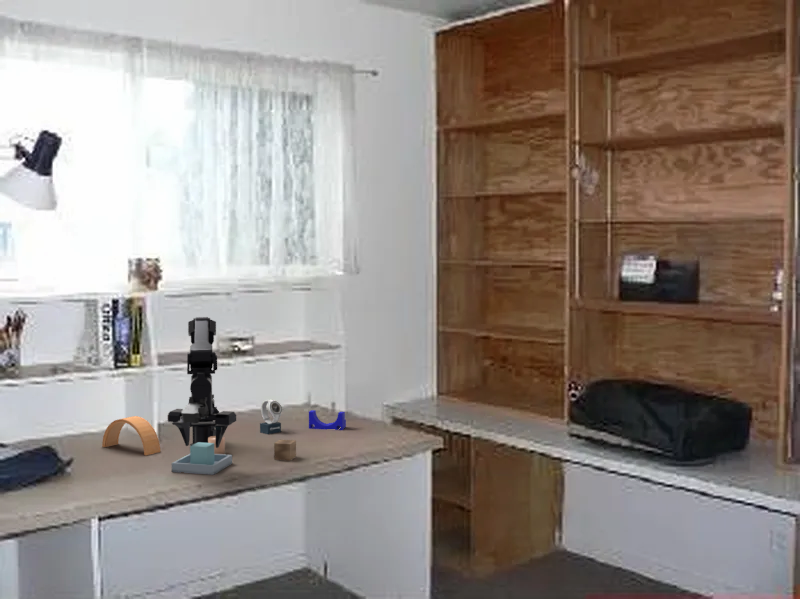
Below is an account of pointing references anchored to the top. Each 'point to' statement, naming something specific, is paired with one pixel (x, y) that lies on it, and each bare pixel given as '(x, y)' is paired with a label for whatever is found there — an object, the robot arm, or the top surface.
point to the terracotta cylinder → (221, 447)
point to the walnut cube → (285, 450)
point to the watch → (269, 425)
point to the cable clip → (320, 425)
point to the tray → (202, 465)
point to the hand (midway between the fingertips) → (202, 446)
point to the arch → (142, 429)
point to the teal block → (202, 453)
